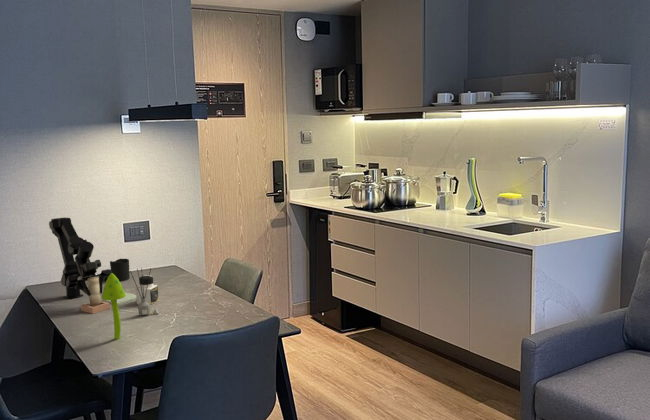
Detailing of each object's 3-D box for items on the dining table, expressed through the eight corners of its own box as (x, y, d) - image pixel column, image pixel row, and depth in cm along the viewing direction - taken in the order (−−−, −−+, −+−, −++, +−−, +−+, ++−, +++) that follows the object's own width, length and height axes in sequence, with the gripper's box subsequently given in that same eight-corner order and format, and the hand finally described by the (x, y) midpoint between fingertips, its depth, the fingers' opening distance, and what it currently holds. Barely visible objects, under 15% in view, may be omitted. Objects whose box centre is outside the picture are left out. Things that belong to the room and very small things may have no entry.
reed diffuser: (134, 318, 256) (130, 270, 253) (132, 313, 262) (129, 267, 260) (159, 314, 260) (156, 268, 257) (157, 310, 266) (154, 264, 263)
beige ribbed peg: (88, 310, 270) (85, 278, 268) (97, 307, 273) (94, 276, 271) (94, 311, 267) (91, 280, 265) (103, 309, 271) (100, 277, 269)
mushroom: (123, 333, 238) (118, 269, 235) (132, 338, 232) (127, 272, 228) (101, 338, 233) (96, 273, 229) (110, 344, 226) (105, 277, 223)
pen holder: (112, 278, 326) (110, 259, 324) (130, 276, 328) (129, 258, 326) (110, 282, 317) (108, 263, 315) (129, 280, 319) (128, 261, 317)
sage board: (100, 300, 284) (100, 299, 284) (124, 293, 294) (124, 292, 294) (118, 304, 276) (117, 303, 276) (142, 297, 287) (142, 296, 286)
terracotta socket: (81, 310, 269) (81, 305, 269) (98, 305, 276) (98, 300, 276) (93, 313, 264) (92, 308, 264) (110, 308, 271) (109, 303, 271)
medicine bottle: (151, 304, 275) (149, 278, 273) (136, 304, 276) (134, 278, 274) (158, 300, 282) (157, 274, 280) (144, 299, 283) (142, 274, 281)
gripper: (65, 258, 264) (76, 288, 257) (109, 251, 276) (120, 279, 269) (61, 273, 271) (72, 302, 264) (104, 265, 283) (115, 294, 276)
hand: (95, 294), depth 268 cm, fingers open, 5 cm apart
